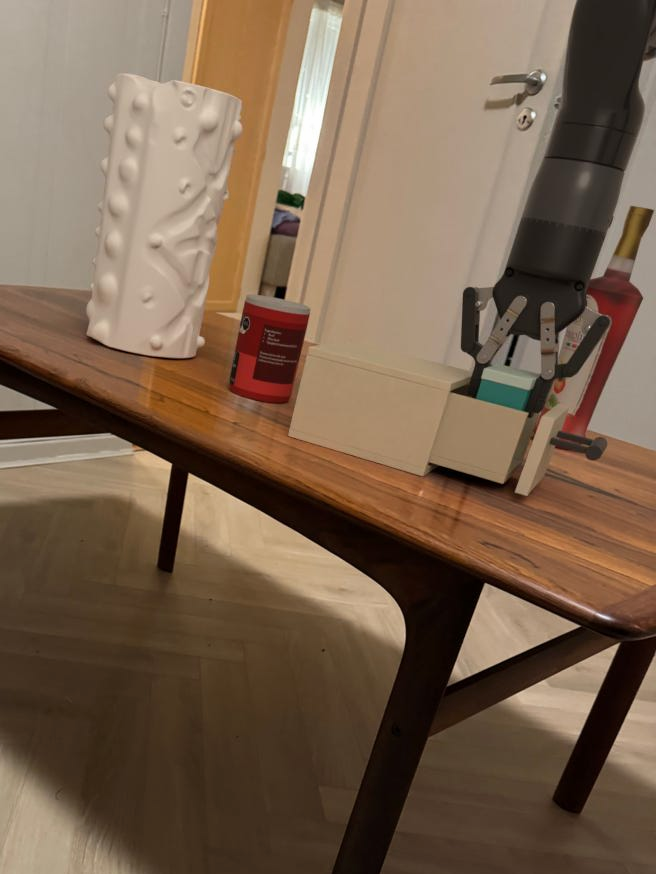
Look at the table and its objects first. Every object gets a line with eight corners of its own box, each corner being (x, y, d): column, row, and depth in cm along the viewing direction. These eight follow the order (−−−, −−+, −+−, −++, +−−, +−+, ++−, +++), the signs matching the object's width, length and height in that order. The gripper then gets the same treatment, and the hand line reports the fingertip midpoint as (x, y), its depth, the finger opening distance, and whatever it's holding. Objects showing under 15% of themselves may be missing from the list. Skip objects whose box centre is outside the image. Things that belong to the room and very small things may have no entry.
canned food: (247, 384, 116) (265, 294, 111) (301, 401, 112) (323, 309, 107) (215, 388, 110) (233, 293, 105) (271, 406, 106) (292, 308, 101)
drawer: (590, 489, 93) (618, 418, 89) (578, 511, 83) (608, 433, 80) (420, 440, 99) (440, 373, 96) (390, 456, 90) (412, 382, 87)
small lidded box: (529, 414, 91) (543, 374, 89) (518, 422, 85) (533, 380, 84) (484, 403, 93) (496, 363, 91) (470, 410, 87) (483, 368, 85)
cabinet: (452, 457, 99) (479, 373, 95) (422, 476, 88) (451, 383, 84) (328, 421, 104) (349, 340, 100) (287, 436, 94) (308, 346, 90)
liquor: (514, 434, 118) (596, 199, 106) (553, 437, 121) (637, 210, 109) (556, 451, 112) (647, 205, 100) (596, 454, 116) (689, 216, 103)
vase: (148, 362, 117) (193, 78, 103) (58, 333, 125) (88, 65, 111) (221, 359, 130) (270, 106, 116) (135, 333, 138) (171, 92, 124)
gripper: (478, 204, 81) (422, 395, 88) (646, 234, 76) (571, 434, 83) (493, 210, 87) (440, 388, 95) (650, 238, 82) (580, 424, 89)
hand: (502, 408), depth 89 cm, fingers closed on small lidded box, 4 cm apart
